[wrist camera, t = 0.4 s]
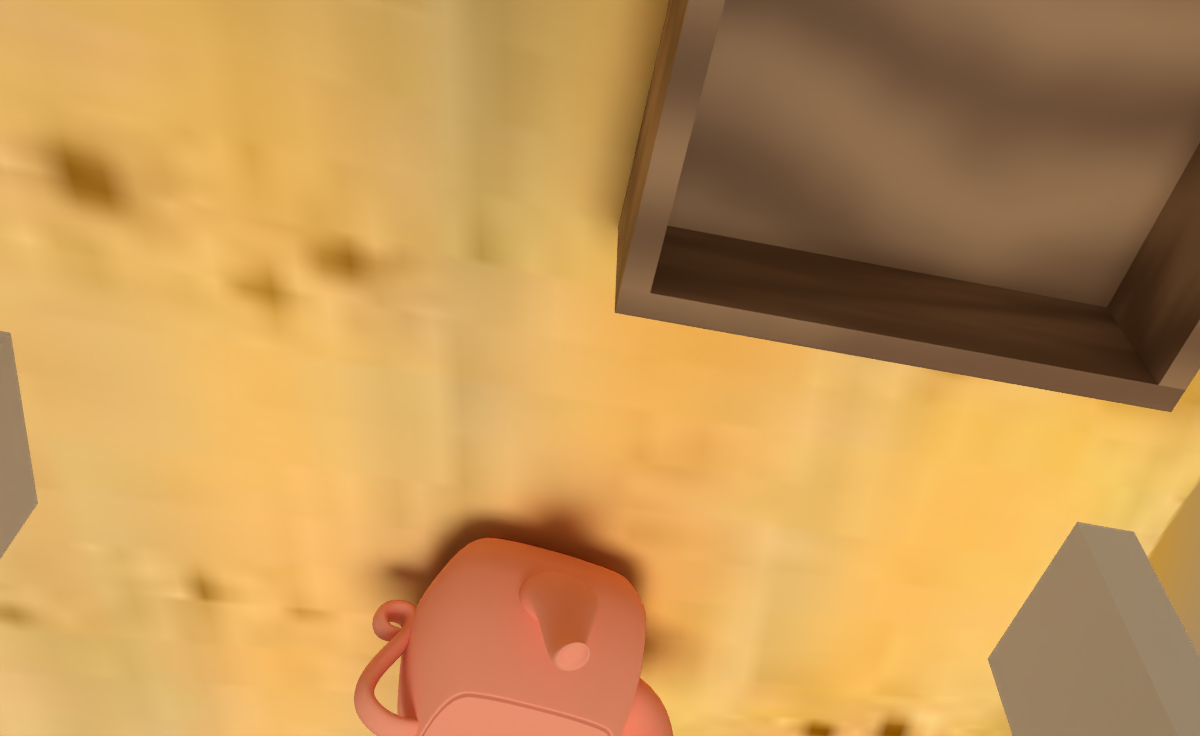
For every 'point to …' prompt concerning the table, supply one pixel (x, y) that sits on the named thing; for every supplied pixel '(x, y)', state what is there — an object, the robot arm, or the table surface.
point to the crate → (929, 186)
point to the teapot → (515, 651)
